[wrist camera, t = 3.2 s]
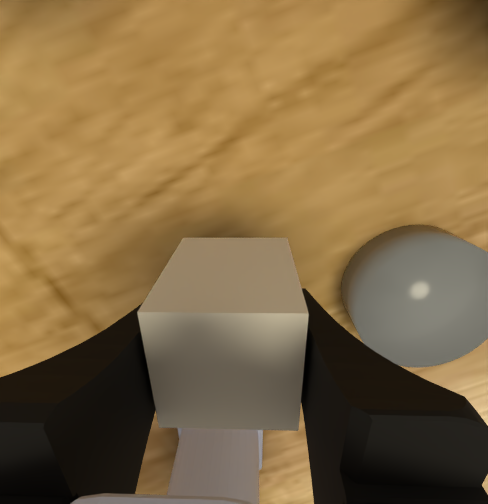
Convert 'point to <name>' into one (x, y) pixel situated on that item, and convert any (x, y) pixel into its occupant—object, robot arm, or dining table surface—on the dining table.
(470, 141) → the dining table surface
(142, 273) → the dining table surface
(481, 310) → the grey disc
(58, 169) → the dining table surface
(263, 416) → the cream block
